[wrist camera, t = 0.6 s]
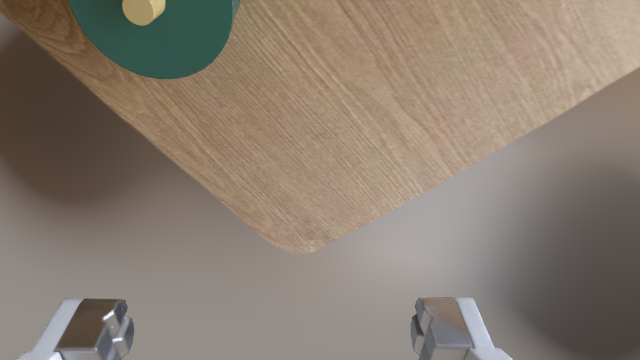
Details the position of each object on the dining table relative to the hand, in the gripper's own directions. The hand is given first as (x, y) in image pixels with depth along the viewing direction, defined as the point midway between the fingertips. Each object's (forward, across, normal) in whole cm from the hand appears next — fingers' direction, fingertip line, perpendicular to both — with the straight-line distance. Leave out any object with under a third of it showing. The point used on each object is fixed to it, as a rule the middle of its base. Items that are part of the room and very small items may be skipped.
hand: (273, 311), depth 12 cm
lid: (+34, +13, -2) cm, 36 cm away
